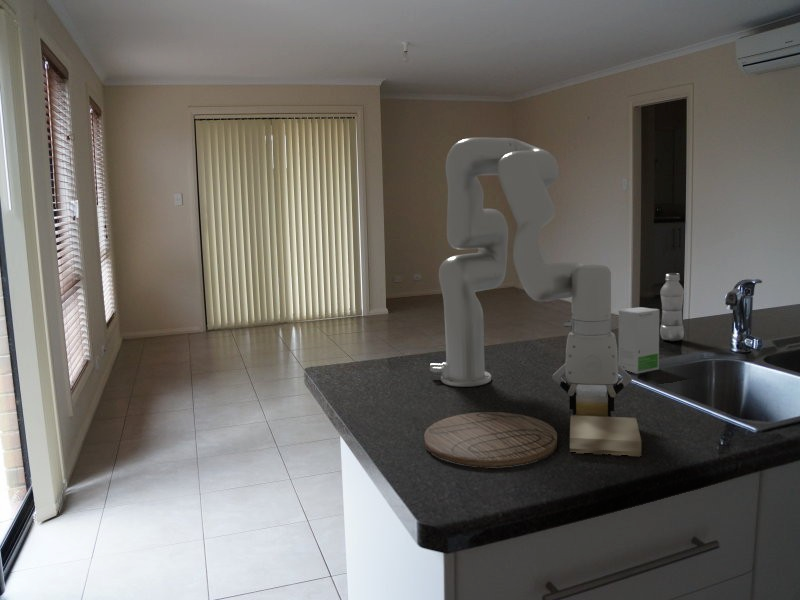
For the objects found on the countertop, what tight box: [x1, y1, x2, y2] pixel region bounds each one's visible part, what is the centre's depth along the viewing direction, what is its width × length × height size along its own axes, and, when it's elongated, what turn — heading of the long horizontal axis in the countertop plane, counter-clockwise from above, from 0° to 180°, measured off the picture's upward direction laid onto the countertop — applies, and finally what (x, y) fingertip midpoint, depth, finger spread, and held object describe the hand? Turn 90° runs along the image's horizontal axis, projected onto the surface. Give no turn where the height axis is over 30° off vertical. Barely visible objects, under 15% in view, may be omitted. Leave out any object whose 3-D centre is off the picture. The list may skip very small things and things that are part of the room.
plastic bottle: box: [659, 272, 685, 342], centre depth 196 cm, size 6×7×20 cm
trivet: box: [423, 411, 558, 467], centre depth 126 cm, size 25×25×2 cm
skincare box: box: [618, 306, 660, 375], centre depth 168 cm, size 8×7×16 cm
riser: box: [569, 414, 642, 457], centre depth 122 cm, size 12×12×3 cm
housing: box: [575, 385, 609, 417], centre depth 135 cm, size 6×8×6 cm
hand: (591, 412), depth 135 cm, fingers closed on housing, 6 cm apart
